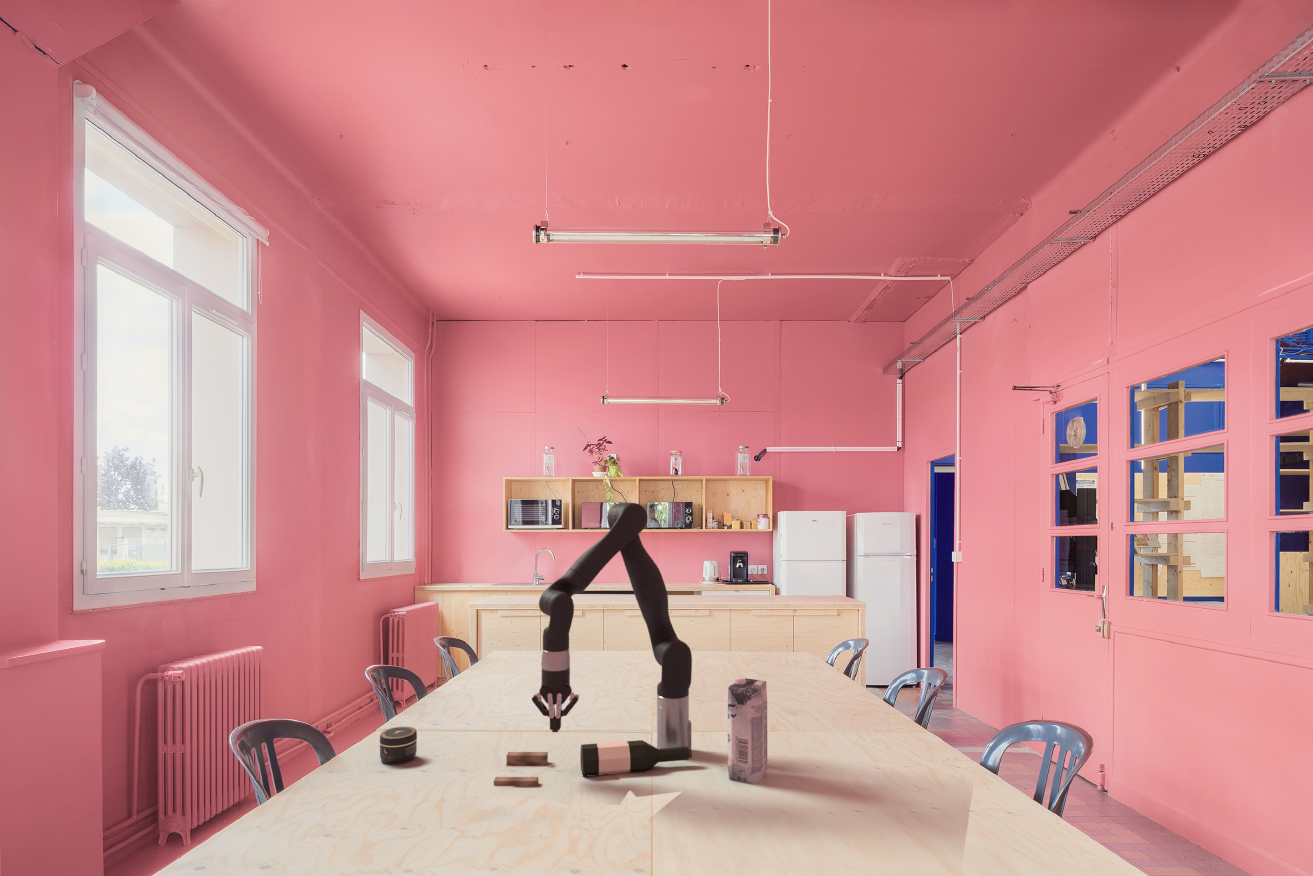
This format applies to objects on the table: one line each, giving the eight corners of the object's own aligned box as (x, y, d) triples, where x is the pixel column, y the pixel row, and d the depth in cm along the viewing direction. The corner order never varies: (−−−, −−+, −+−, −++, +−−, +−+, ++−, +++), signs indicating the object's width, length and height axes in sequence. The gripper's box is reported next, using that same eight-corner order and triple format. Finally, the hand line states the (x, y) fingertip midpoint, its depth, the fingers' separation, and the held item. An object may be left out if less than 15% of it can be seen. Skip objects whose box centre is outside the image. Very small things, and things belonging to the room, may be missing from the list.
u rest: (547, 762, 210) (547, 752, 210) (537, 793, 192) (537, 781, 192) (508, 762, 210) (508, 752, 210) (493, 793, 192) (493, 781, 192)
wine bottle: (583, 778, 196) (695, 769, 202) (582, 744, 200) (692, 736, 205) (581, 778, 204) (689, 769, 210) (579, 745, 207) (686, 737, 213)
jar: (371, 763, 210) (371, 735, 210) (396, 750, 219) (396, 724, 220) (400, 769, 206) (400, 740, 207) (424, 755, 216) (424, 728, 216)
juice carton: (770, 777, 201) (769, 675, 202) (758, 793, 191) (757, 685, 192) (738, 771, 205) (737, 671, 205) (725, 786, 195) (724, 681, 196)
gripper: (581, 662, 205) (581, 726, 205) (533, 662, 205) (532, 726, 205) (579, 669, 198) (578, 736, 197) (528, 669, 198) (528, 736, 197)
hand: (555, 731), depth 201 cm, fingers closed
